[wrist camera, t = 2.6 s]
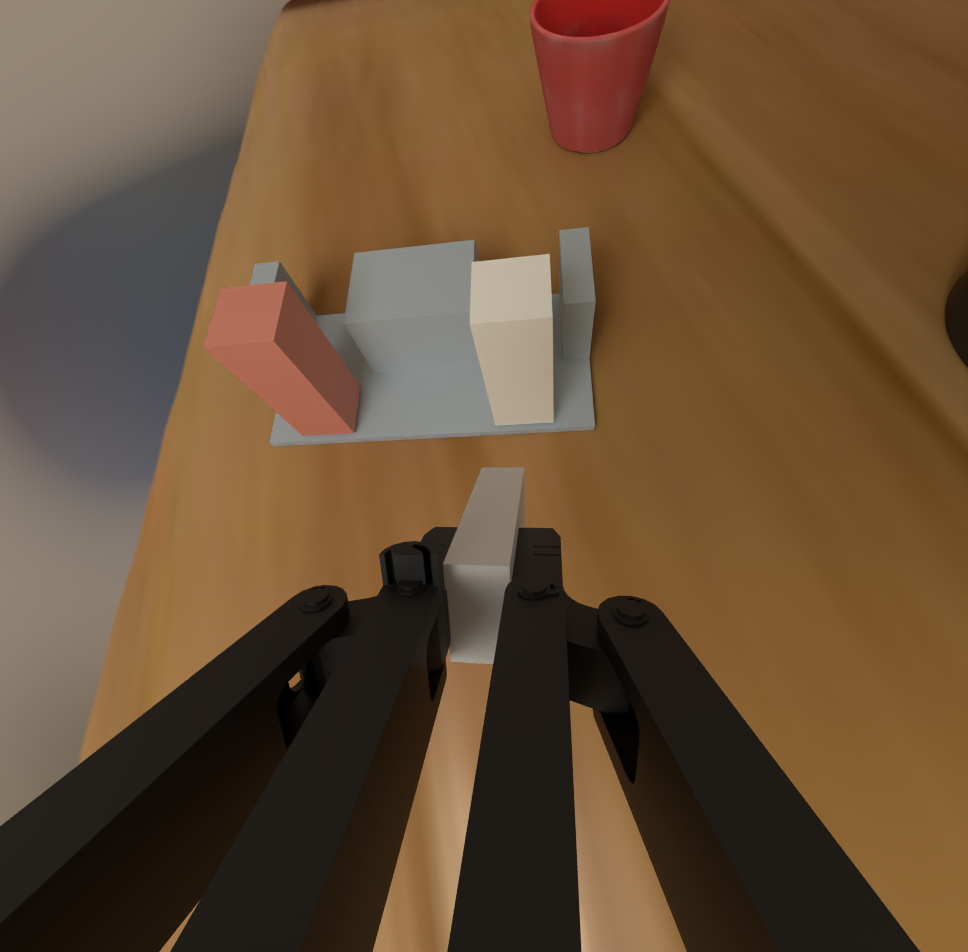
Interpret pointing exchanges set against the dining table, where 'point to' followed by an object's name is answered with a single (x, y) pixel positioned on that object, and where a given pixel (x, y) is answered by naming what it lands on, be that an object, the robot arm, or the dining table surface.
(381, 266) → the slot block
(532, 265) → the cream plug
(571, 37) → the flower pot
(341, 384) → the red plug
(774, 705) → the dining table surface
